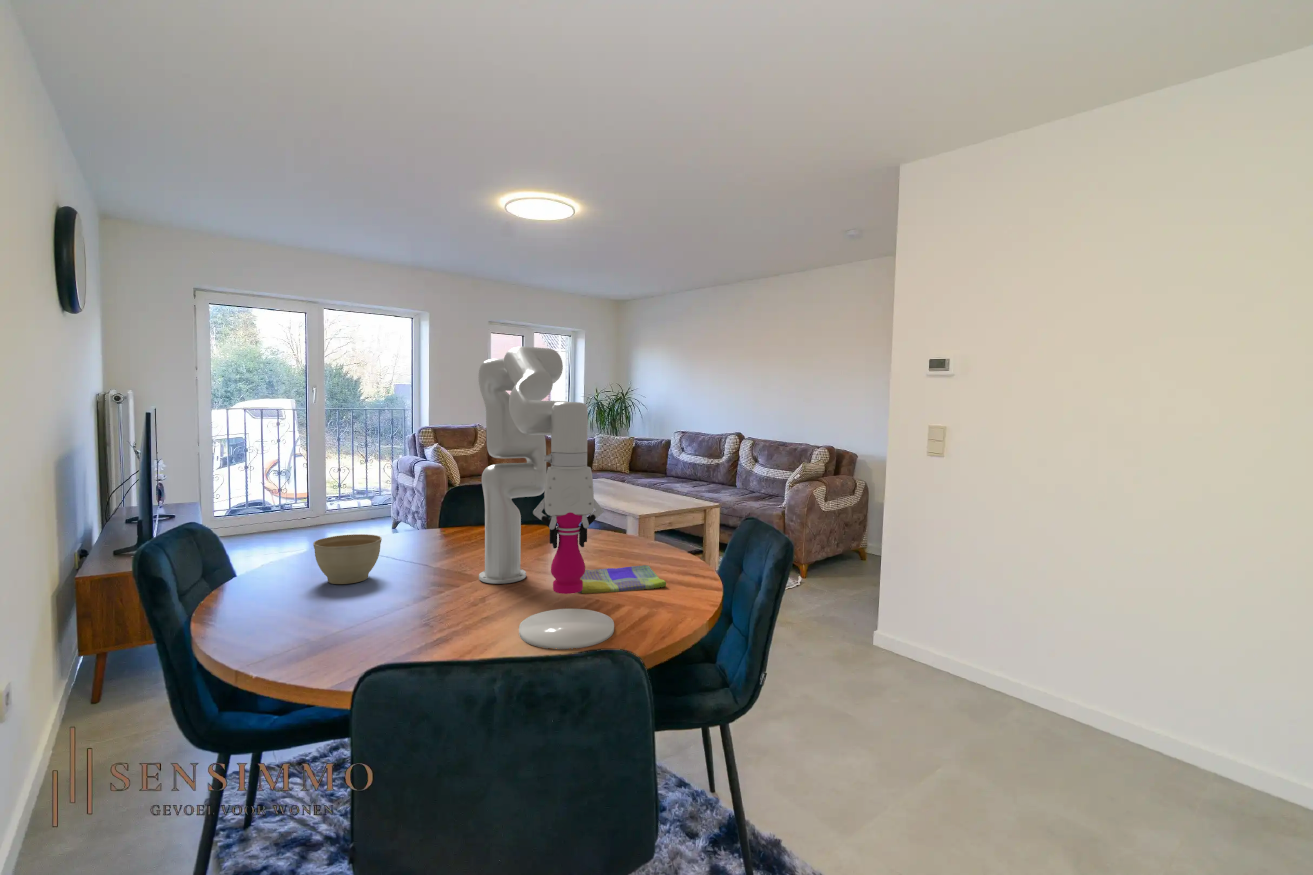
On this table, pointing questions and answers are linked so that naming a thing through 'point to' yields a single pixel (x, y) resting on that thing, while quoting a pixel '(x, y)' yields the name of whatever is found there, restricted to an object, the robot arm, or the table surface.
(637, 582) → the dish towel
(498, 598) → the table surface
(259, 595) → the table surface
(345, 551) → the planter bowl
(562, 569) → the pepper mill
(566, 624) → the disc
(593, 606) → the table surface
